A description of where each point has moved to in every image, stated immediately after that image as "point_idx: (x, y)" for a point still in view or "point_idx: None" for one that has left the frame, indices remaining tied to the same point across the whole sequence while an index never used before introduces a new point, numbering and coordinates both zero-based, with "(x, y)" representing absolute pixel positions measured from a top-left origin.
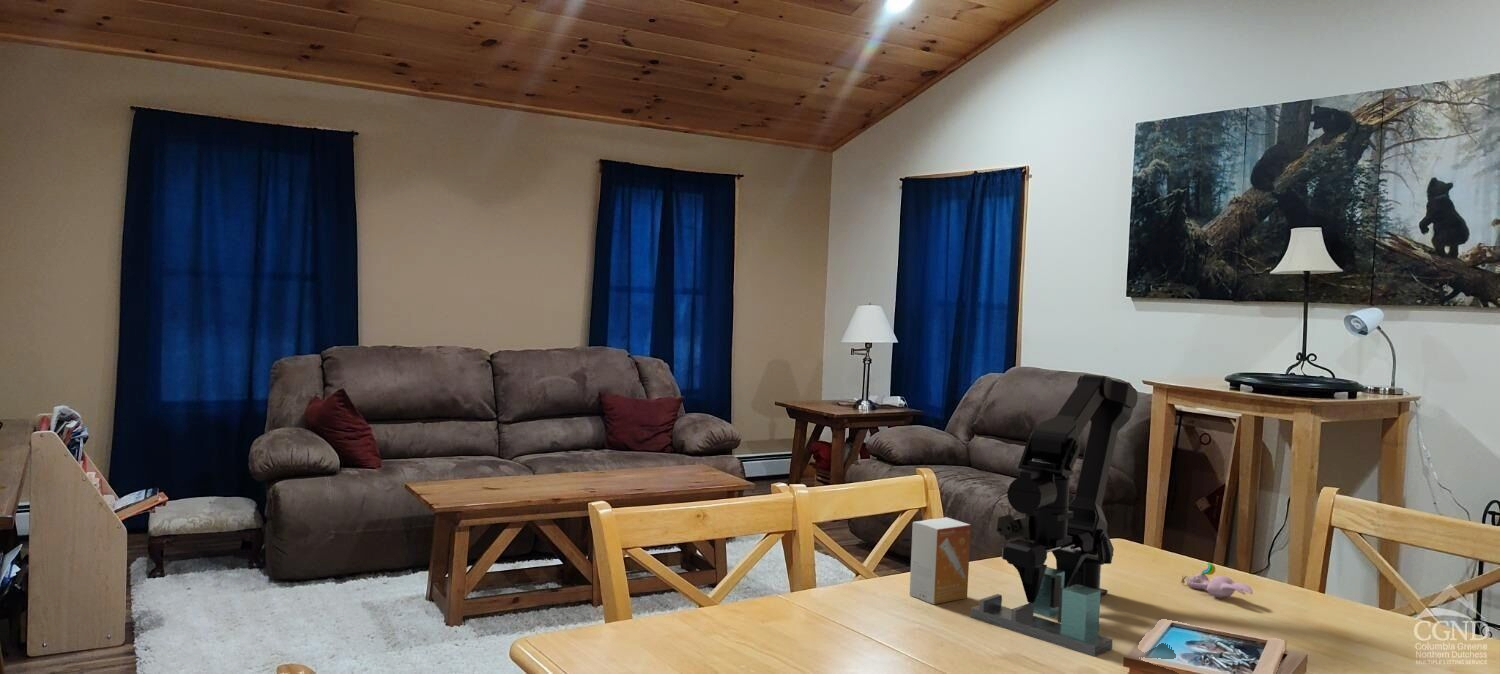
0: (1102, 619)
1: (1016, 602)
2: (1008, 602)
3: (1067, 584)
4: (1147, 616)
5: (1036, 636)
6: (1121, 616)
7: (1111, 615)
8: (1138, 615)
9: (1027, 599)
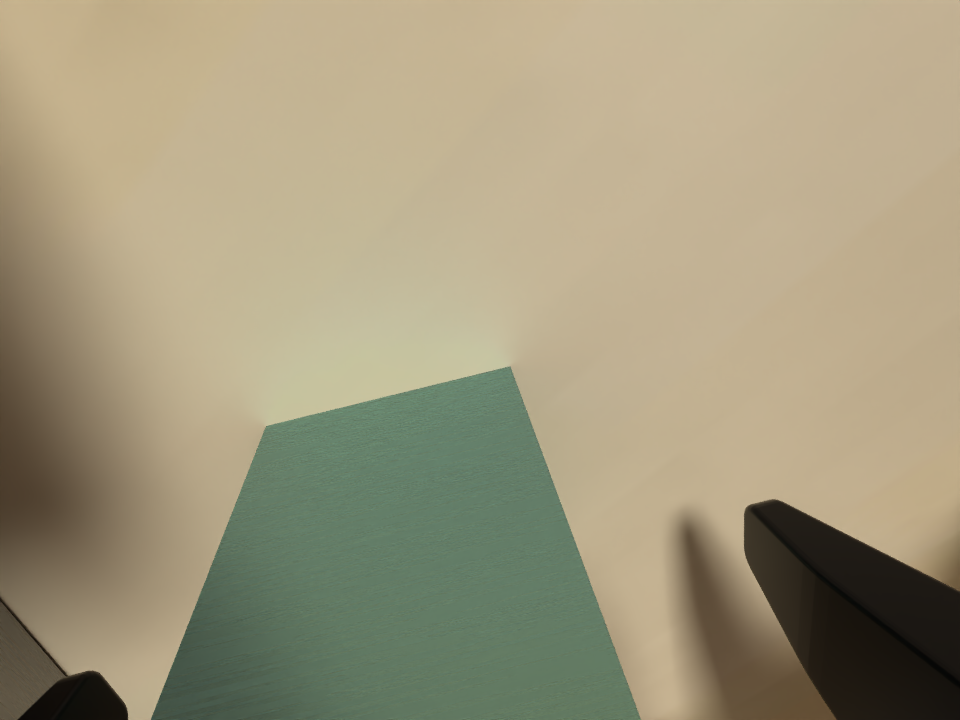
0: (678, 699)
1: (340, 127)
2: (228, 75)
3: (821, 686)
4: None
5: None
6: None
7: None
8: None
9: (44, 702)
